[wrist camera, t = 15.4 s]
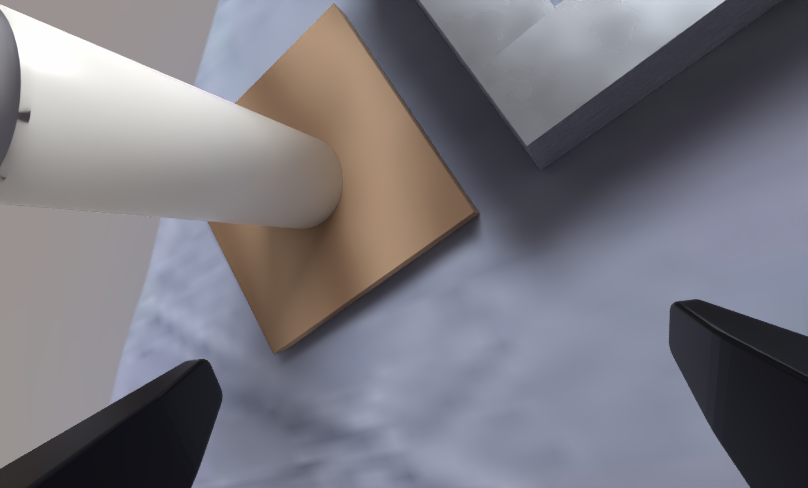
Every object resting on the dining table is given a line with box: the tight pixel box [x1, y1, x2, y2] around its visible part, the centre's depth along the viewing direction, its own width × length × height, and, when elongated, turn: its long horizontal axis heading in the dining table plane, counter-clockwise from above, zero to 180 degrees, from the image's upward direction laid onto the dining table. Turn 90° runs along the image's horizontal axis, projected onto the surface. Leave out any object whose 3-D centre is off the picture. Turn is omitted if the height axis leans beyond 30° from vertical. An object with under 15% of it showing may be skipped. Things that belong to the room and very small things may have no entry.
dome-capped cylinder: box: [0, 5, 343, 229], centre depth 15 cm, size 4×4×13 cm
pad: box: [208, 4, 480, 354], centre depth 21 cm, size 12×12×1 cm
